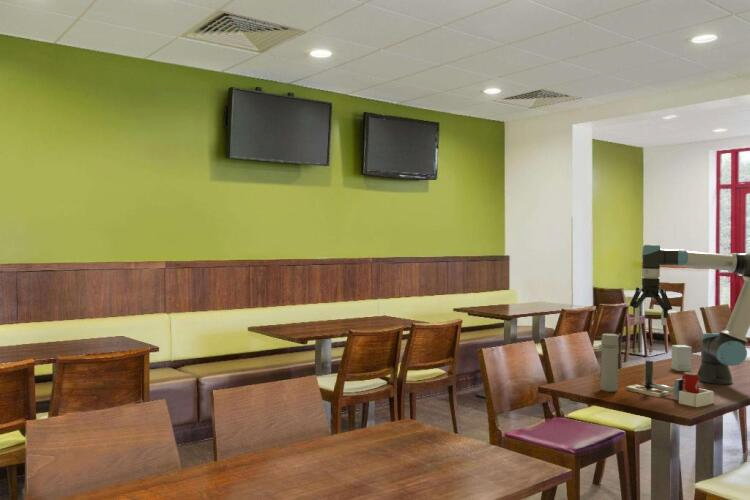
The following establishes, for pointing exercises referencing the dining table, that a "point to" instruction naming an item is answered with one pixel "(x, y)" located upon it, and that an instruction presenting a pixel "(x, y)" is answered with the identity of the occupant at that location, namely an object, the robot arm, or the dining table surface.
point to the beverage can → (690, 382)
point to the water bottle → (609, 362)
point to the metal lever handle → (649, 384)
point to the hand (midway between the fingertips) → (650, 323)
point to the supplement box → (681, 358)
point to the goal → (696, 398)
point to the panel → (647, 390)
